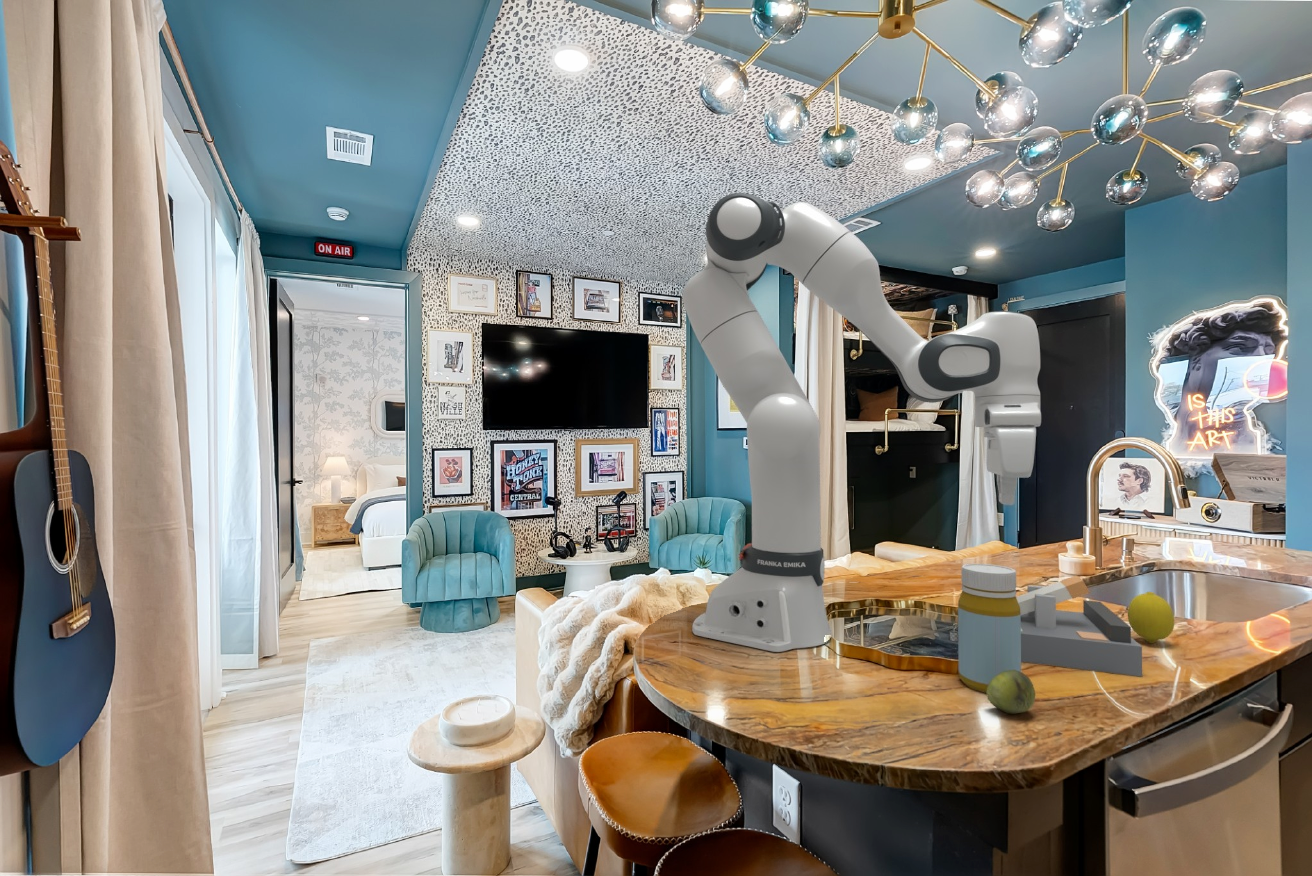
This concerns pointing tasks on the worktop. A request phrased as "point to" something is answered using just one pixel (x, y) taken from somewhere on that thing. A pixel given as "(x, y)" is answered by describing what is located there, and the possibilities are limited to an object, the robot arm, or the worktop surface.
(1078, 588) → the lever
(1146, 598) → the lemon
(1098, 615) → the low grey base tray
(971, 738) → the worktop surface
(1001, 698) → the lime
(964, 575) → the bottle
